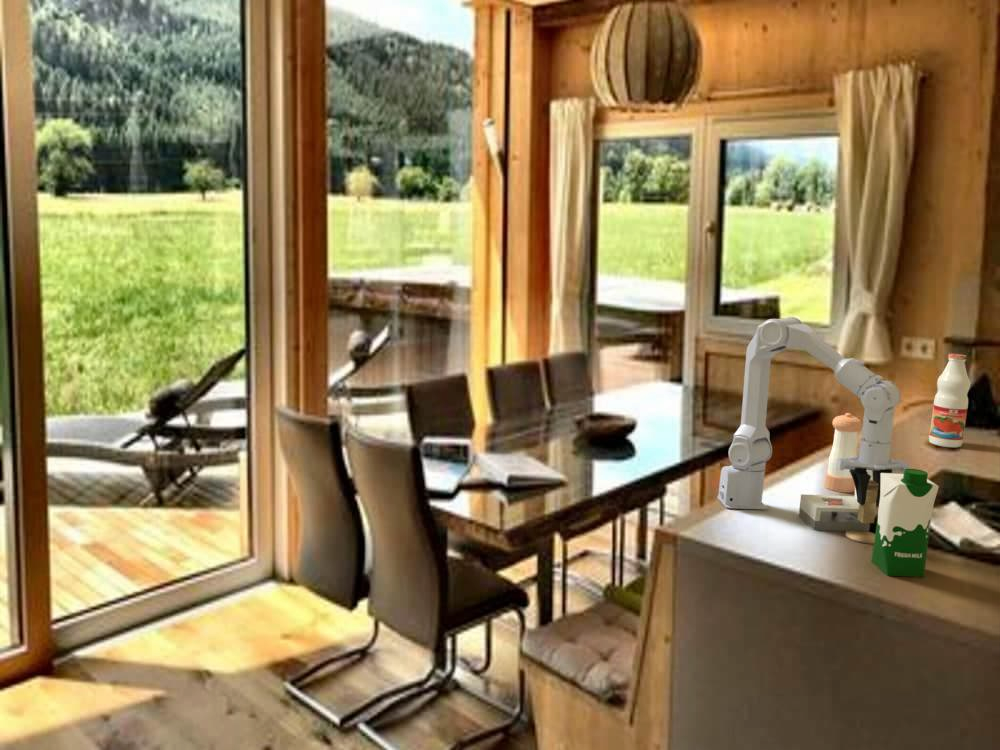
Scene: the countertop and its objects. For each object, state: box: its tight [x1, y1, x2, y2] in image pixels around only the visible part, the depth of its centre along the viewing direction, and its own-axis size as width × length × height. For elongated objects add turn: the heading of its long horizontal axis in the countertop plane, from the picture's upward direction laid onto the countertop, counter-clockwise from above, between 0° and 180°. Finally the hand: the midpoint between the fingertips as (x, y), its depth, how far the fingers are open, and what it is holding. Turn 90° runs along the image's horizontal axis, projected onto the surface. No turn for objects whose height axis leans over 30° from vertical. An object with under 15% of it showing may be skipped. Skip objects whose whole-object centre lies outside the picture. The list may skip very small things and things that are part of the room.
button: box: [827, 501, 844, 515], centre depth 198 cm, size 3×3×3 cm
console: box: [798, 494, 871, 532], centre depth 198 cm, size 12×9×5 cm
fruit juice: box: [928, 353, 971, 448], centre depth 278 cm, size 9×9×28 cm
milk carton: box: [870, 468, 940, 578], centre depth 172 cm, size 9×9×20 cm
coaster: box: [845, 530, 876, 545], centre depth 190 cm, size 7×7×1 cm
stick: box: [858, 480, 879, 524], centre depth 189 cm, size 2×2×8 cm
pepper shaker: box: [824, 412, 863, 493], centre depth 224 cm, size 7×7×19 cm
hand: (867, 503), depth 189 cm, fingers closed on stick, 2 cm apart
